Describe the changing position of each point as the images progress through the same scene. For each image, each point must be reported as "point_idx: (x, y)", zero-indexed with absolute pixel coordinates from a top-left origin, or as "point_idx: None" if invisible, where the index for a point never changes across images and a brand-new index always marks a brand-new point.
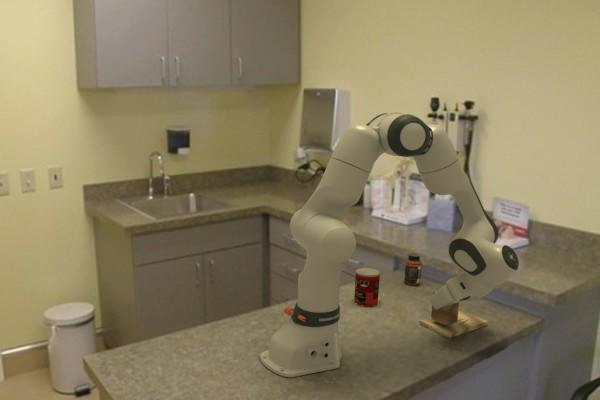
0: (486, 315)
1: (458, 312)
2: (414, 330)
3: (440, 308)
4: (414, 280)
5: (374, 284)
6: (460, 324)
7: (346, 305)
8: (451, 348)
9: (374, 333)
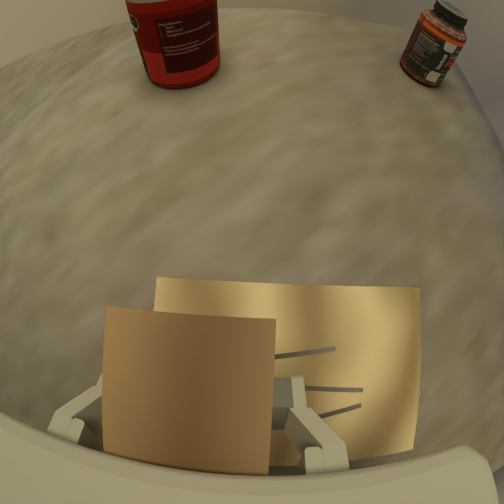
0: (470, 373)
1: (395, 322)
2: (95, 311)
3: None
4: (421, 68)
5: (158, 28)
6: None
7: (122, 67)
8: None
9: (4, 240)
